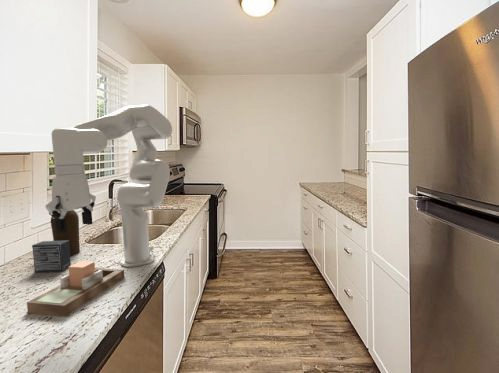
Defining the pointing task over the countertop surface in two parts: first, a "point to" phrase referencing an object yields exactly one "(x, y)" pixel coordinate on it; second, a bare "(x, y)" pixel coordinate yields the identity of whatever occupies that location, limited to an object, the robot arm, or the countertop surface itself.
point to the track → (74, 293)
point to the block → (80, 272)
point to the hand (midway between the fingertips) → (75, 227)
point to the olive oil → (68, 231)
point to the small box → (51, 256)
